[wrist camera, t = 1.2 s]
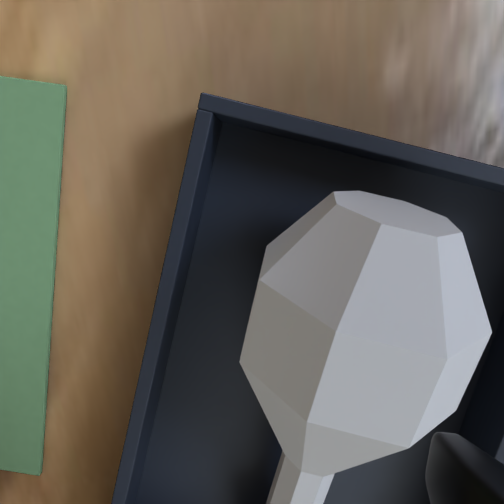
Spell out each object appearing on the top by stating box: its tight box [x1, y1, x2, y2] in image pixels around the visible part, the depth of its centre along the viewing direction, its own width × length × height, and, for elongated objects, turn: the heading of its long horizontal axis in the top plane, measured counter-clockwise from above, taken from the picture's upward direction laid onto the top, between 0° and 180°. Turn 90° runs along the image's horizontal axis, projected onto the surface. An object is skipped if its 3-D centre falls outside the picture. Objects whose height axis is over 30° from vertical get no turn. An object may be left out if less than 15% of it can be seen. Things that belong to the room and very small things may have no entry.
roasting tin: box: [111, 93, 504, 504], centre depth 20 cm, size 22×15×3 cm
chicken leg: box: [239, 191, 492, 504], centre depth 18 cm, size 8×18×8 cm, turn 167°
